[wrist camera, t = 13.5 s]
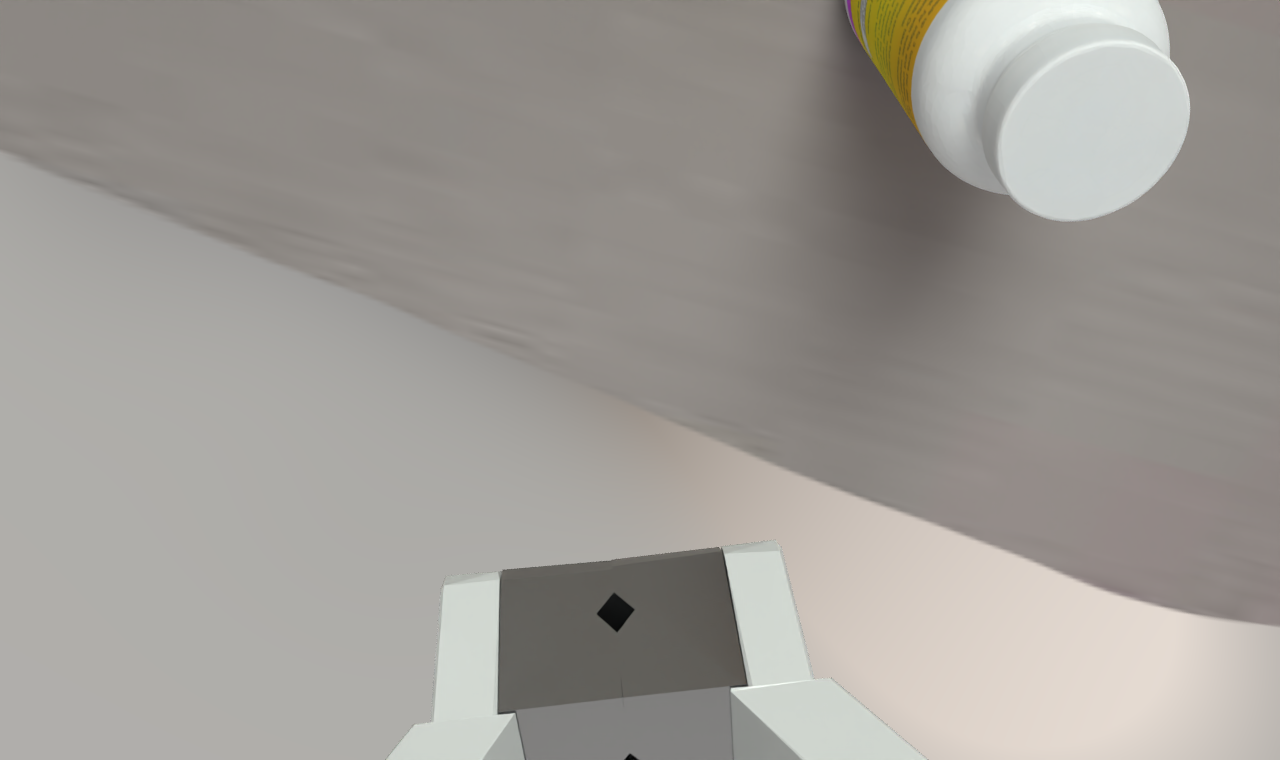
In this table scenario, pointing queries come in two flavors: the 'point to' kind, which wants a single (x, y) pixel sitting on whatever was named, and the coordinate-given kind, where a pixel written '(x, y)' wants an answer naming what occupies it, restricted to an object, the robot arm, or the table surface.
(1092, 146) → the supplement bottle
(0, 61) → the table surface
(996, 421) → the table surface
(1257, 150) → the table surface
